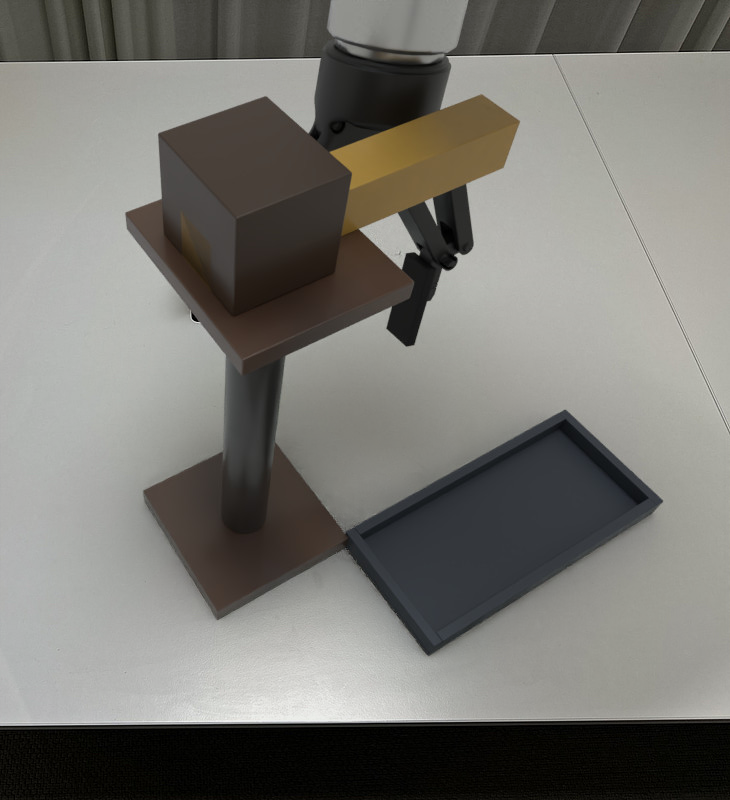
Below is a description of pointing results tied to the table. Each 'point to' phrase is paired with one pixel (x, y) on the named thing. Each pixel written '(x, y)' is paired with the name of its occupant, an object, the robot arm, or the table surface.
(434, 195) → the mallet
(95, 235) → the table surface
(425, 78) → the robot arm
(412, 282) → the pedestal stand
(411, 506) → the tray
